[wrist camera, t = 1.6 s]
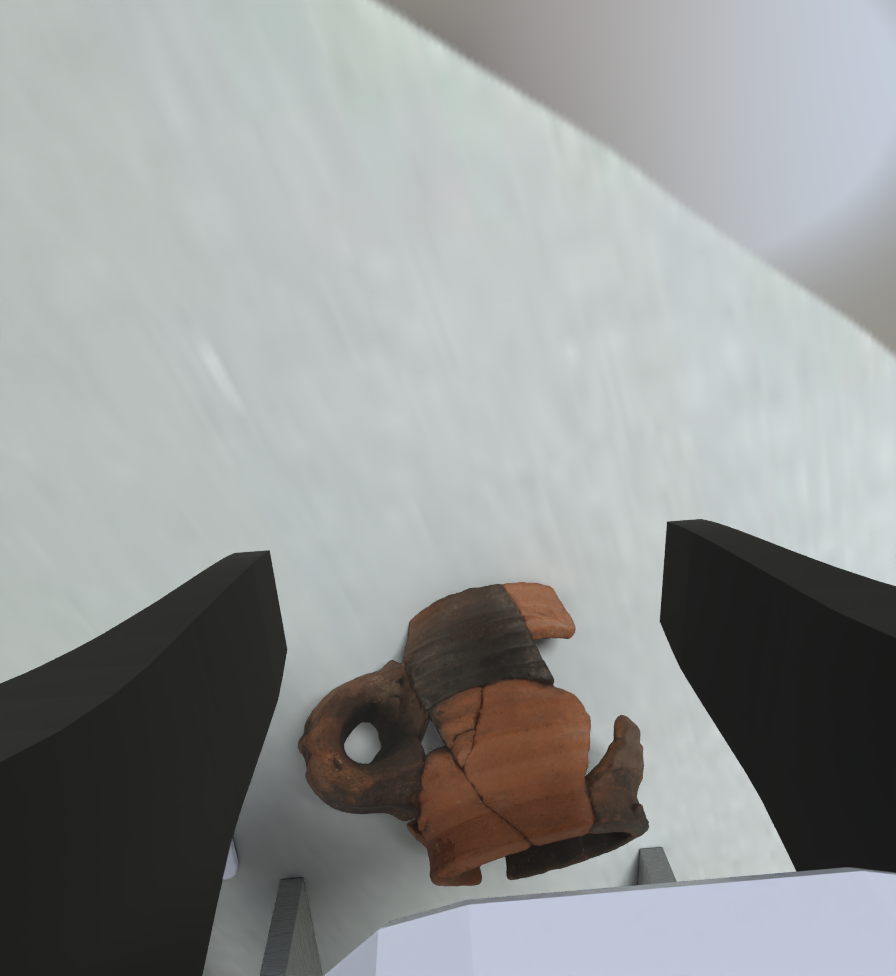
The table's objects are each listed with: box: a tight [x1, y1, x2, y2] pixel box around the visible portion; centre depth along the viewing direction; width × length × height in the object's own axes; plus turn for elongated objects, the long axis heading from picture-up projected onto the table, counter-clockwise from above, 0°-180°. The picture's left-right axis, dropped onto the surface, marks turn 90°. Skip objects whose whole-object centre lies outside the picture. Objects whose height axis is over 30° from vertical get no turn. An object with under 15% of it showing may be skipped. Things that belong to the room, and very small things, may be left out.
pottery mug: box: [298, 582, 649, 886], centre depth 23 cm, size 12×10×8 cm
